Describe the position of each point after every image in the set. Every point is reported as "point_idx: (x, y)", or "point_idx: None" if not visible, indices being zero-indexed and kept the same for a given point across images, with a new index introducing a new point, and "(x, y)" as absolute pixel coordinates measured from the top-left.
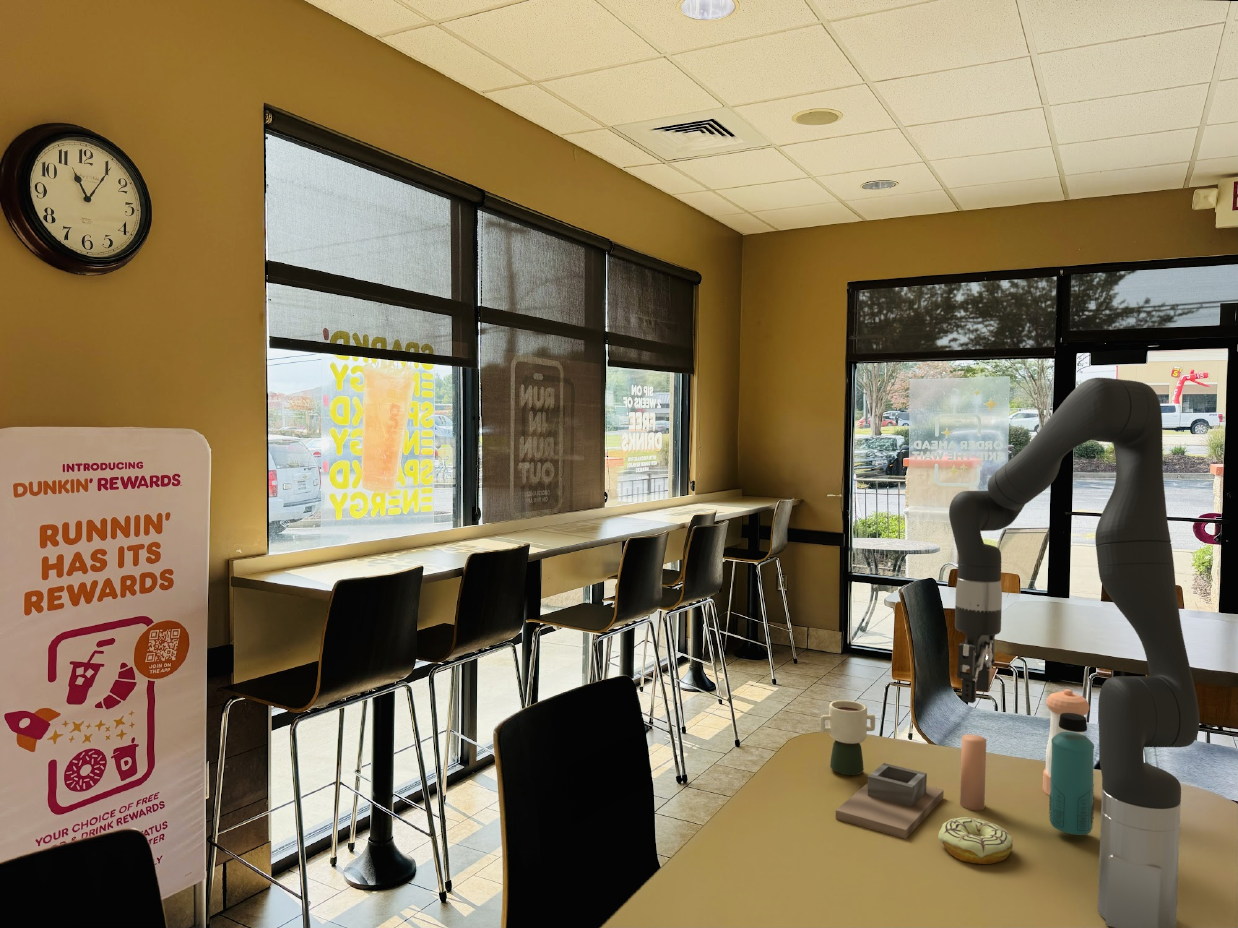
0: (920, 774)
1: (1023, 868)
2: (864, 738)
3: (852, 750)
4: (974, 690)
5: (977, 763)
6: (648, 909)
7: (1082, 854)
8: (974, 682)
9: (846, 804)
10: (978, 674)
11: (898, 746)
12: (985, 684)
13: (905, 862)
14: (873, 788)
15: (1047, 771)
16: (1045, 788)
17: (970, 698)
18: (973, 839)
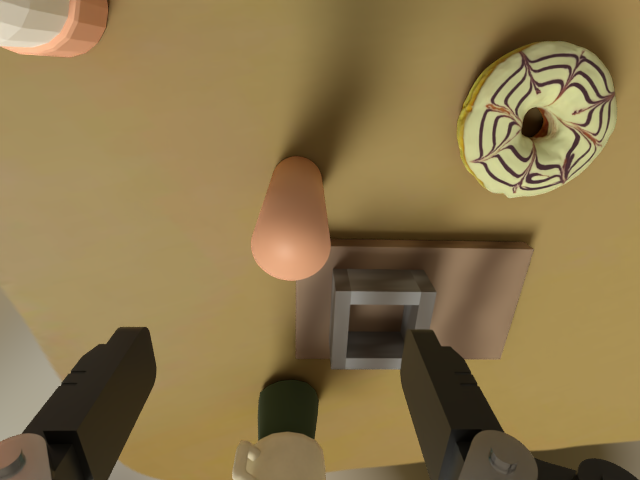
0: (352, 298)
1: (571, 8)
2: (287, 436)
3: (305, 426)
4: (457, 380)
5: (322, 201)
6: None
7: None
8: (477, 429)
9: (467, 354)
10: (113, 446)
11: None
12: (133, 362)
13: (619, 215)
14: None
15: (50, 37)
16: (88, 44)
17: (455, 357)
18: (603, 119)
